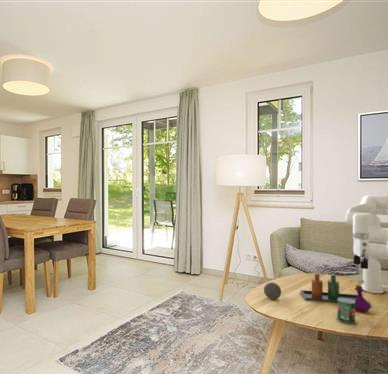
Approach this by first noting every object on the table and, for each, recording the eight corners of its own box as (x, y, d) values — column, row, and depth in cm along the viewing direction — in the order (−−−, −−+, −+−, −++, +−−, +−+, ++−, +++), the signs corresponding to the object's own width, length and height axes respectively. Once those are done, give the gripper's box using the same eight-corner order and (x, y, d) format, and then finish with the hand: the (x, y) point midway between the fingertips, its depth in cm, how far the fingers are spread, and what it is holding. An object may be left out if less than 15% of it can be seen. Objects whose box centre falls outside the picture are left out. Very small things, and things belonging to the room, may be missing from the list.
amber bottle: (320, 296, 192) (321, 272, 192) (323, 299, 186) (323, 275, 186) (310, 295, 194) (310, 271, 194) (312, 298, 188) (313, 274, 188)
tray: (360, 298, 189) (360, 295, 189) (369, 307, 176) (370, 303, 176) (300, 293, 199) (300, 290, 199) (305, 301, 186) (305, 297, 186)
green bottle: (337, 297, 190) (337, 273, 189) (340, 301, 184) (340, 276, 184) (326, 296, 191) (326, 273, 191) (329, 300, 186) (329, 275, 185)
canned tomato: (334, 316, 165) (335, 296, 164) (351, 318, 162) (351, 298, 162) (340, 323, 157) (340, 302, 157) (357, 325, 155) (357, 303, 154)
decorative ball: (265, 294, 197) (265, 279, 197) (281, 297, 192) (282, 281, 192) (262, 299, 188) (262, 283, 188) (280, 303, 183) (280, 286, 183)
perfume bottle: (364, 315, 166) (364, 282, 165) (349, 310, 172) (349, 279, 172) (371, 312, 169) (371, 280, 169) (356, 307, 176) (356, 277, 175)
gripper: (376, 238, 160) (375, 271, 161) (362, 233, 177) (361, 262, 177) (359, 238, 162) (359, 269, 163) (347, 233, 179) (347, 261, 179)
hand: (360, 266), depth 170 cm, fingers open, 9 cm apart
